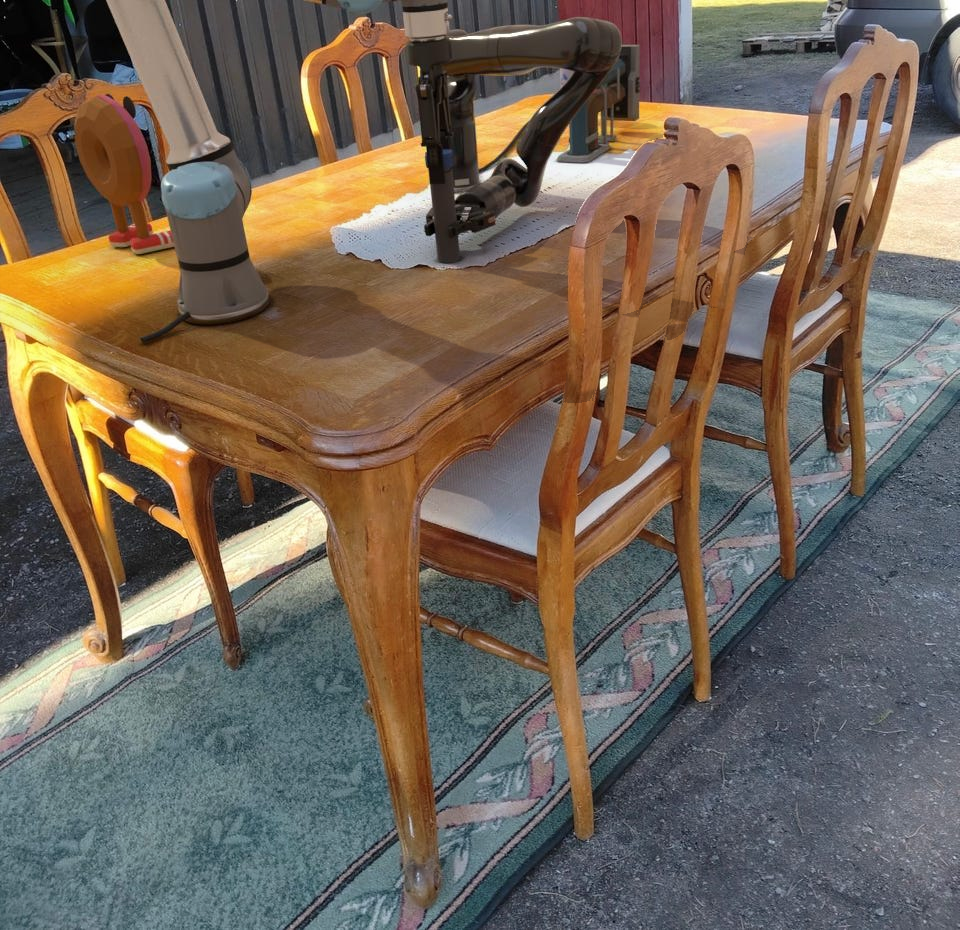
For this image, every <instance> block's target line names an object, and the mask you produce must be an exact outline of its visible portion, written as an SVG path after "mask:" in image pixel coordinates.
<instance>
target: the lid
mask: <svg viewBox="0 0 960 930" xmlns="http://www.w3.org/2000/svg"><path fill="white" fill-rule="evenodd" d="M443 159H444V169H445V168H449V167H452V166H453V164H454V160H453V153H452V150H450V149H443ZM424 163H425V167H426V168H427V169H428V161H427V151H425V153H424Z"/></svg>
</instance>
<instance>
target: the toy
mask: <svg viewBox="0 0 960 930" xmlns="http://www.w3.org/2000/svg"><path fill="white" fill-rule="evenodd" d="M136 116H137V111H136V106H135V103H134V101H133V99H132V98H131V97H129V96H128V95H126V96H124V97H123V99H122V104H121V103H119V102H118V101H117V100H115V98H114V97H113V96H112V94H111V93H106V94H105V95H104V94H101V93H99V94H97V95H95V96H93V97H91V98H89V99H86V100H85V101H83V102H81V104H79V106H78V108H77V112H76V115H75V118H74V127H73V129H74V145H75V148H76V152H77V155H78V159H79V163H80V165H81V167H82V168H83V171H84V172H85V175H86V178H87V179H88V180H89V182H90V183H91V184H92V185H93V186H94V188H95V189H96V190H97V191H98V192H99V194H100V195H102V197H103V198H104V199H106V200H108V202H109V206H110V208H111V213H112V216H113V221H114V224H115V227H116V231H114V232H112V233H110V234H109V235H108V240H109V245H110V246H111V247H114V248H127V247H130V248H131V251H132V253H134V254H135V255H142V254H146V253H151V252H156V251H162V250H167V249H170V248H175V247H174V242H173V238H172V234H171V230H170V229H169V230H166V231H160V232H156V233H154V230H153V227H152V225H151V223H149V222H148V220H147V217H146V213H145V209H144V205H143V201H144V200H145V199H146V198H147V196H148V194H149V192H150V189H151V185H152V168H151V167H152V162H151V161H152V160H151V156H150V152H149V148H148V145H147V142H146V140H145V139H146V138H145V137H144V135H143V133H142V131H141V128H140V127H139V125H138V124H137V122H136V120H135V118H136ZM126 206H127V207H130V212H131V216H132V220H133V223H132V224H130V225H129V224H128V219H127V215H126V212H125V207H126Z"/></svg>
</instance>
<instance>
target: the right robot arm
mask: <svg viewBox="0 0 960 930" xmlns="http://www.w3.org/2000/svg"><path fill="white" fill-rule="evenodd" d="M446 37H449V38H450V39H451V48H452V60H451V61H450V62H448V63H445V64H441V65H442V70H443V71H447V73H448V76H447V79H448V96H449V108H450V119H451V130H449V131H453V136H447V137H449V142H450V150H452V153H453V160H454V164H453V166H452V172H453V183H454V193H459V194H458V196H457V197H455V206H456V218H457V221H456V222H455V223H453V224H451V225H450V226H449V227H448V231H449V238H455V237H456V236H458V237H459V236H460V235H461V234H467V233H469V232H471V233H472V234H476V233H479V232H481V231H484V230H486V229H489V228H491V227H494V226H496V219H497V218H498V217H500V216H501V215H502V213H504V212H506V211H507V210H509V209H511V207H512V206H513V205H516V206H518V207H519V208H527V207H529V206H531V205H532V204H534V202H535V201H536V200H537V199H538V197H539V194H540V192H541V189H542V186H543V181H544V176H545V171H546V168H547V164H548V162H549V160H550V157H551V156H552V154H553V153H554V151H555V150H556V147H557V146H558V143H559V141H560V139H561V138H562V136H563V135H564V133H565V131H566V129H567V128H568V127H569V123H570V122H571V120H572V119H573V118H574V116H575V115H576V114H577V112H578V111H579V110H580V108H581V107H582V106H583V104H584V103H585V102H586V101H587V99H588V98H589V97H590V96H591V95H592V94H594V93H595V90H597V89H596V88H597V87H598V85H599V84H600V83H601V82H602V80H603V79H604V78H605V77H606V75H607V74H608V73H609V72H610V70H611V69H612V67H613V66H614V65H615V63H616V61H617V59H618V57H619V55H620V52H621V47H622V45H623V39H622V38H623V37H622V33H621V31H620V30H619V28H618V27H617V25H616V24H615V23H612V22H611V21H607V20H603V19H597V18H591V17H584V16H576V17H571V18H567V19H564V20H560V21H555V22H552V23H548V24H544V25H534V24H511V25H510V24H509V25H500V26H495V27H490V28H486V29H482V30H478V31H475V32H472V33H467V31H465V30H463V29H460V28H459V29H458V28H457V29H450V33H449V34H448V35H446ZM538 68H553V69H559V70H560V69H566V70H570V71H573V73H572V75H571V76H570V78H569V79H568V80H567V81H566V83H565V84H564V85H563V86H562V87H561V86H560V88H559V89H558V90H557V91H556V92H555V93H554V94H552V95H551V96H550V97H549V98H548V99H547V100H546V101H545V102H543V104H541V105H540V106H539V108H538V109H536V111H535V112H534V113H533V114H532V116H531V117H530V119H529V120H528V121H527V122H526V123H525V124H524V125H523V126H522V127H521V129H519V131H518V132H517V133H516V135H515V136H514V138H513V139H512V140H511V141H510V142H509V144H508V145H507V146H506V147H505V148H504V149H503V150H502V152H500V153H499V155H497V156H496V157H495V158H494V159H493V160H491V161H489V162H488V163H487V164H486V165H484V166H482V167H479V155H478V154H479V153H478V142H477V141H478V139H477V127H476V116H475V115H476V114H475V98H476V93H477V76H497V77H506V76H507V77H508V76H510V77H511V76H521V75H522V76H523V75H526V74H529V73H531V72H533V71H535V70H536V69H538ZM518 139H519V140H518ZM517 141H518V142H517ZM516 142H517V144H516ZM514 144H516V146H515V147H516V148H515V151H516V154H517V156H518V157H519V158H520V160H521V161H522V162H523V164H524V165H525V166H524V165H522V164H521V163H520V162H518V161H517V160H515V159H512V158H503V157H504V156H505V155H506V154H507V153H508V152H509V151H510V149H511V148H512V147H513V146H514ZM502 158H503V159H502ZM496 163H497V164H496ZM495 164H496V166H495V167H494V169H493V171H492V173H491V175H490V177H488V178H487V179H485V180H484V181H482V182H481V180H480V173H483V172H484V171H486V170H488V169H489V168H491V167H492V166H493V165H495ZM423 228H424V234H425V236H426V237H431V236H433V235H435V229H434V219H433V209H432V207H431V208H430V209H429V210H428V211H427V213H426V215H425V224H424V225H423Z"/></svg>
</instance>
